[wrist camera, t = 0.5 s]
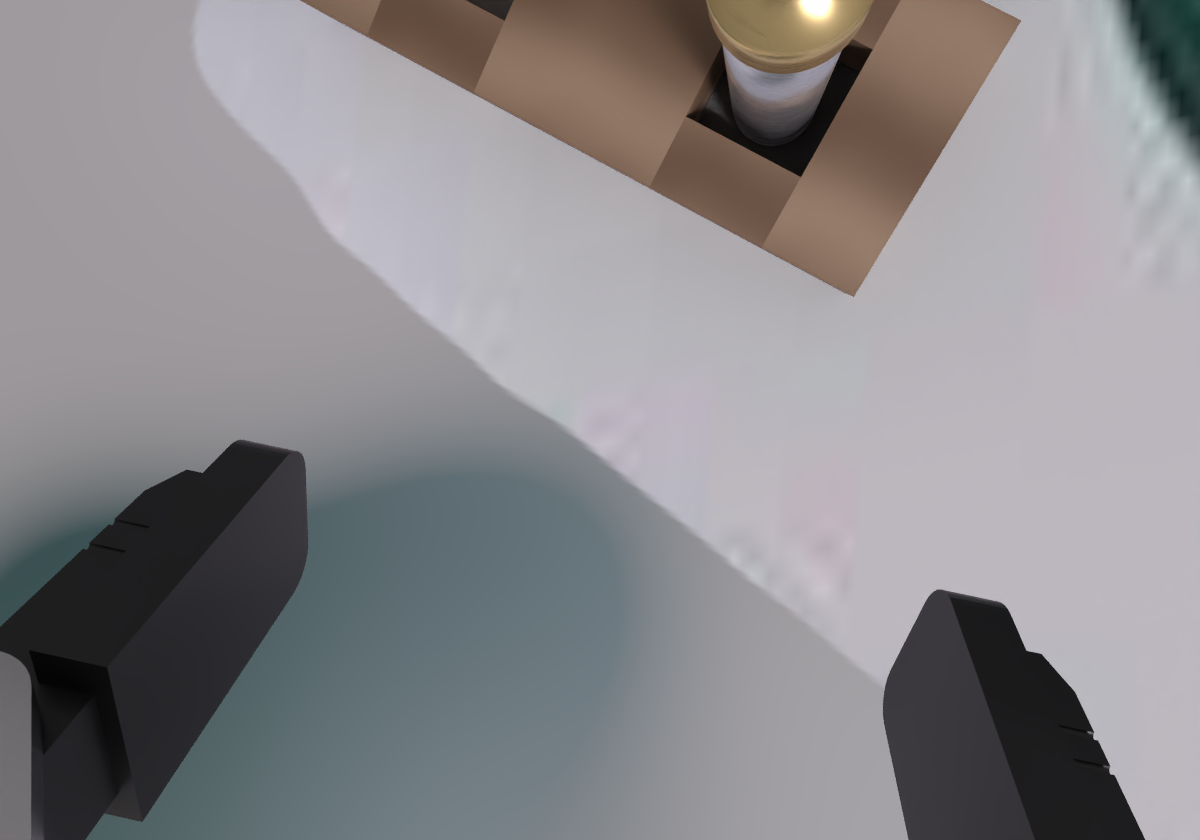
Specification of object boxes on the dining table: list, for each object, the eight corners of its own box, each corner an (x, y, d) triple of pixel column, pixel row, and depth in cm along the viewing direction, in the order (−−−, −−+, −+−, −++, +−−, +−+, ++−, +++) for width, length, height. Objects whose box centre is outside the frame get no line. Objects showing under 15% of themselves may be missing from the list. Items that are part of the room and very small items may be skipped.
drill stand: (426, -239, 31) (386, -299, 28) (990, 47, 29) (1020, 20, 26) (330, 16, 34) (282, -10, 30) (843, 292, 32) (853, 296, 29)
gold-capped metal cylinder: (756, 35, 31) (758, -184, 15) (840, 78, 30) (928, -101, 15) (710, 124, 32) (668, 2, 16) (791, 167, 31) (826, 85, 16)
